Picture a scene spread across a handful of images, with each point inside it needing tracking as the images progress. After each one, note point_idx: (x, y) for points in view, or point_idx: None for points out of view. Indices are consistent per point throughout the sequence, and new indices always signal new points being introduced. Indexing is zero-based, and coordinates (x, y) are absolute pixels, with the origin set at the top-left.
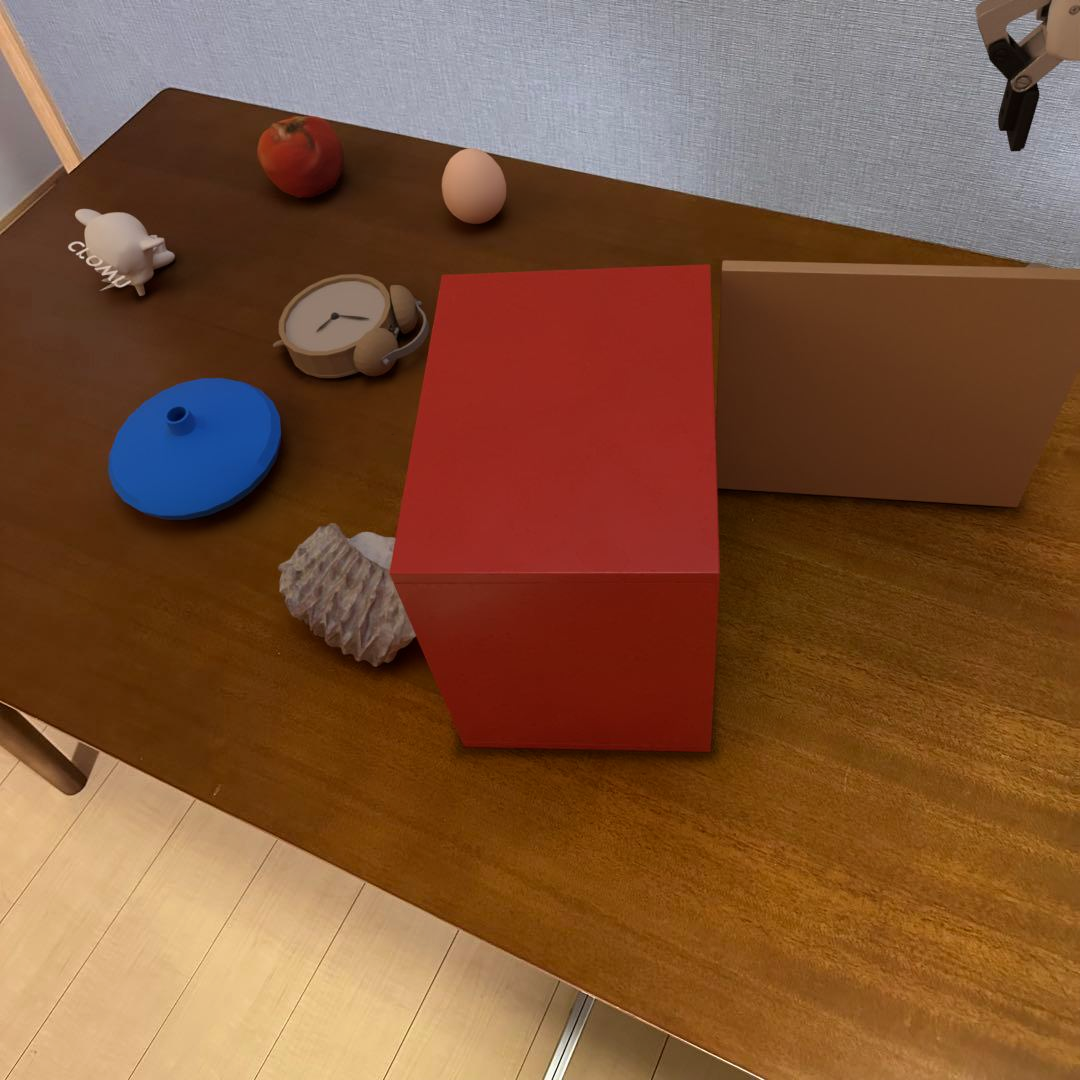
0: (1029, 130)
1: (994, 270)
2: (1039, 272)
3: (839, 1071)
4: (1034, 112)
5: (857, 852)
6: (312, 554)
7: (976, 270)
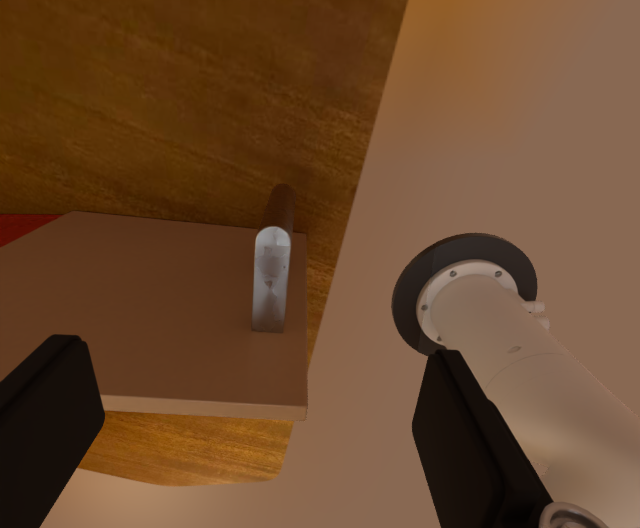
0: (78, 464)
1: (155, 404)
2: (213, 408)
3: (192, 485)
4: (45, 515)
5: (197, 425)
6: None
7: (132, 403)
